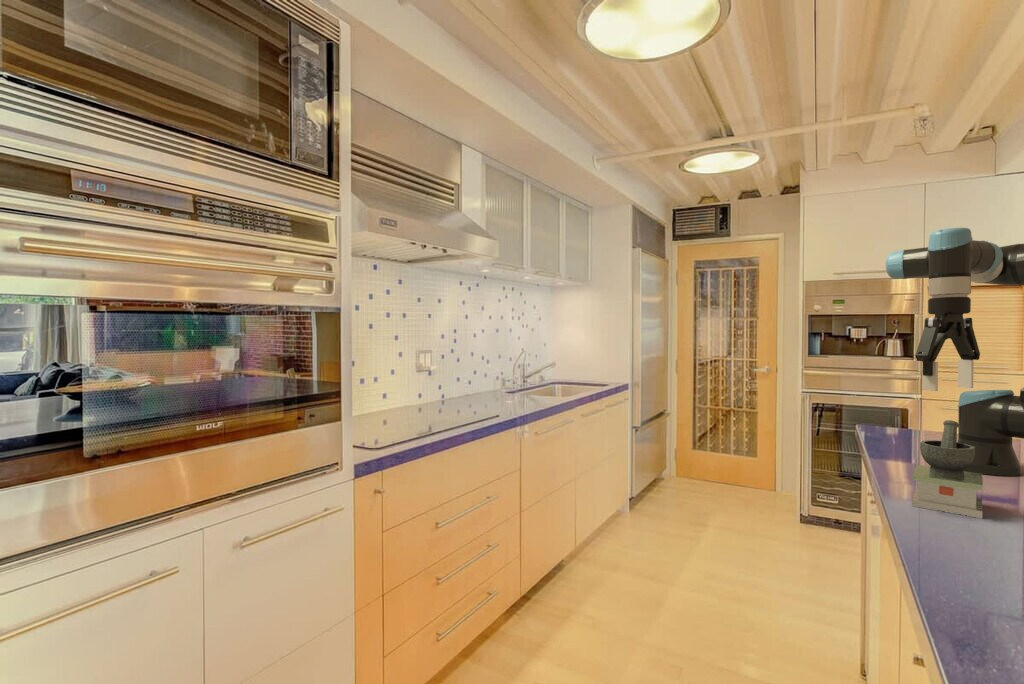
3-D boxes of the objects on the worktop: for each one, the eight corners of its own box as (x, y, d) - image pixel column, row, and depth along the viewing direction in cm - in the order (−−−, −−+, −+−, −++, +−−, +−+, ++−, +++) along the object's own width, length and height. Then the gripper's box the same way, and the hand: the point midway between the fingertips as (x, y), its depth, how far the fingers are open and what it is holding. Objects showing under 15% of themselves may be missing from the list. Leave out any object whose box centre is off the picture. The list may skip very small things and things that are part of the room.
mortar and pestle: (970, 483, 113) (971, 427, 113) (916, 474, 120) (917, 422, 120) (977, 473, 121) (978, 421, 120) (926, 465, 127) (927, 416, 127)
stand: (916, 493, 128) (916, 464, 128) (981, 504, 120) (982, 473, 120) (911, 506, 120) (912, 474, 119) (982, 518, 112) (982, 485, 111)
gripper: (961, 298, 128) (960, 384, 128) (896, 296, 118) (896, 390, 119) (1000, 296, 121) (998, 387, 122) (934, 294, 112) (933, 393, 112)
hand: (948, 389), depth 120 cm, fingers open, 13 cm apart
